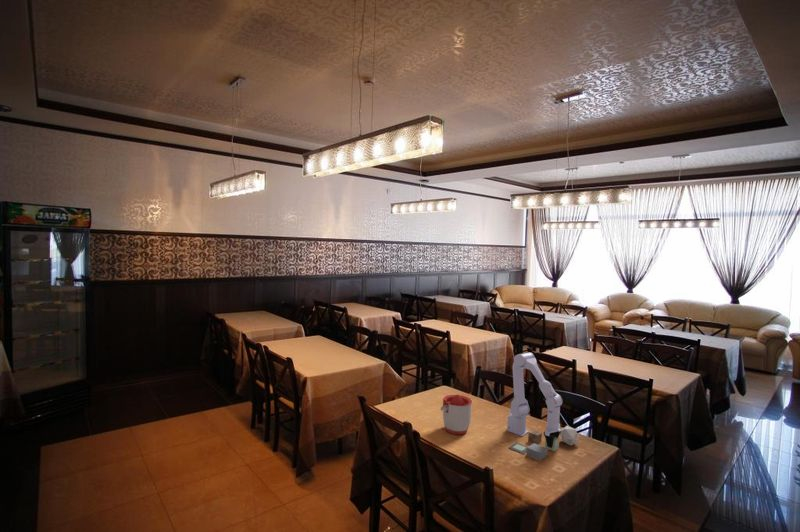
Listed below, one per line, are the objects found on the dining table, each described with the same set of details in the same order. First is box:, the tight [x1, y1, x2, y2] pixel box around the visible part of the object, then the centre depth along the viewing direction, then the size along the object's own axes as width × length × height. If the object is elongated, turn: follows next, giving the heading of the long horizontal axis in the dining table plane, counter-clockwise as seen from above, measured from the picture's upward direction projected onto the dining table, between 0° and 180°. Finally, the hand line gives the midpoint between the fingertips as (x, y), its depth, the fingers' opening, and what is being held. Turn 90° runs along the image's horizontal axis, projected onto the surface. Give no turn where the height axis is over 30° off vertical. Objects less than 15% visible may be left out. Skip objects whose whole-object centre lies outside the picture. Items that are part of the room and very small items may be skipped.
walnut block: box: [527, 428, 543, 445], centre depth 205 cm, size 5×5×5 cm
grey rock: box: [559, 425, 580, 446], centre depth 205 cm, size 8×9×10 cm
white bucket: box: [440, 394, 473, 435], centre depth 214 cm, size 16×17×20 cm
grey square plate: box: [508, 441, 528, 455], centre depth 197 cm, size 8×8×1 cm
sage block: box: [544, 437, 560, 452], centre depth 199 cm, size 5×5×5 cm
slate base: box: [526, 443, 548, 462], centre depth 191 cm, size 7×7×4 cm
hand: (551, 445), depth 199 cm, fingers closed on sage block, 5 cm apart
